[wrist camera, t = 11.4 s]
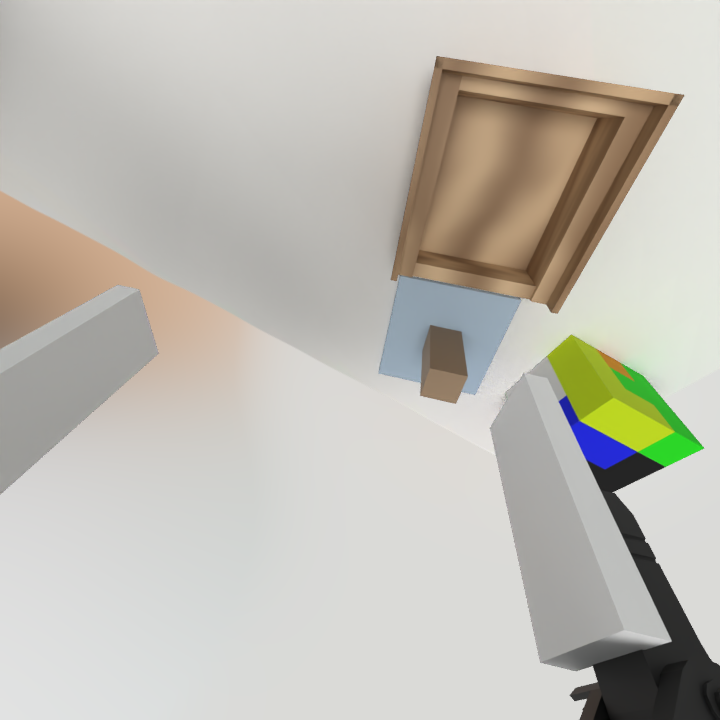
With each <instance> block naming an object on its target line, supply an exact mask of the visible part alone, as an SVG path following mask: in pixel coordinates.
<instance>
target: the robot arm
mask: <svg viewBox="0 0 720 720" xmlns="http://www.w3.org/2000/svg"><path fill="white" fill-rule="evenodd" d="M157 354H158V350H157V346H156V343H155V340H154V337H153V333H152V330H151V327H150V323H149V320H148V317H147V313H146V310H145V307H144V303H143V300H142V297H141V293H140V291H139V289H135V288H130V287H125V286H121V285H117V286H115V287H113V288H111V289H109V290H107V291H106V292H104V293H102V294H100V295H98V296H97V297H95V298H93V299H91V300H89V301H87V302H86V303H84V304H82V305H80V306H78V307H77V308H75V309H73V310H71V311H69V312H67V313H65V314H64V315H62V316H60V317H58V318H56V319H55V320H53V321H51V322H49V323H47V324H45V325H44V326H42V327H40V328H38V329H36V330H35V331H33V332H31V333H29V334H27V335H25V336H23V337H22V338H20V339H18V340H16V341H14V342H13V343H11V344H9V345H7V346H5V347H3V348H2V349H0V494H1V493H3V492H4V491H5V490H6V489H7V488H8V487H9V486H10V485H12V484H13V483H14V482H15V481H16V480H17V479H18V478H19V477H21V476H22V475H23V474H24V473H25V472H26V471H27V470H28V469H30V468H31V467H32V466H33V465H34V464H35V463H36V462H37V461H38V460H40V459H41V458H42V457H43V456H44V455H45V454H46V453H47V452H49V451H50V450H51V449H52V448H53V447H54V446H55V445H56V444H58V443H59V442H60V441H61V440H62V439H63V438H64V437H65V436H67V435H68V434H69V433H70V432H71V431H72V430H73V429H74V428H76V427H77V426H78V425H79V424H80V423H81V422H82V421H83V420H85V419H86V418H87V417H88V416H89V415H90V414H91V413H92V412H94V410H96V409H97V408H98V407H99V406H100V405H101V404H103V403H104V402H105V401H106V400H107V399H108V398H109V397H110V396H111V395H113V394H114V393H115V392H116V391H117V390H118V389H119V388H120V387H121V386H123V385H124V384H125V383H126V382H127V381H128V380H129V379H131V378H132V377H133V376H134V375H135V374H136V373H137V372H138V371H140V370H141V369H142V368H143V367H144V366H145V365H146V364H147V363H148V362H150V361H151V360H152V359H153V358H154V357H155V356H156V355H157ZM490 429H491V434H492V439H493V443H494V448H495V453H496V458H497V462H498V467H499V472H500V476H501V481H502V486H503V490H504V495H505V499H506V504H507V508H508V514H509V518H510V523H511V528H512V532H513V537H514V542H515V547H516V551H517V556H518V561H519V565H520V570H521V574H522V579H523V584H524V589H525V594H526V598H527V603H528V608H529V612H530V616H531V622H532V626H533V631H534V636H535V640H536V645H537V649H538V655H539V659H540V662H541V663H544V664H549V665H552V666H557V667H561V668H565V669H569V670H573V671H578V670H581V669H584V668H588V667H591V666H593V668H594V671H595V674H596V677H597V680H598V682H597V683H593V684H589V685H586V686H581V687H577V688H575V689H574V691H573V692H572V693H571V694H570V696H571V697H572V699H573V700H574V701H577V700H582V699H587V701H586V704H585V707H584V708H583V712H582V715H581V717H580V720H720V666H719V665H718V664H717V663H714V662H712V661H711V659H710V658H709V656H708V655H707V653H706V651H705V650H704V648H703V646H702V645H701V643H700V641H699V639H698V638H697V635H696V634H695V632H694V630H693V628H692V626H691V624H690V622H689V620H688V618H687V616H686V614H685V613H684V611H683V609H682V607H681V605H680V603H679V601H678V599H677V597H676V595H675V594H674V592H673V590H672V588H671V586H670V584H669V582H668V580H667V578H666V577H665V575H664V573H663V571H662V569H661V567H660V565H659V564H657V563H656V561H655V559H656V557H655V556H654V554H653V552H652V550H651V548H650V546H649V544H648V543H646V542H645V537H644V535H643V533H642V531H641V529H640V527H639V525H638V523H637V521H636V520H635V518H634V516H633V514H632V513H631V512H630V511H629V509H628V508H627V507H626V506H625V505H624V504H623V503H622V501H621V500H620V499H619V498H618V497H617V496H616V494H615V493H611V492H607V491H603V490H600V488H599V486H598V484H597V482H596V480H595V478H594V476H593V473H592V471H591V469H590V467H589V465H588V463H587V461H586V459H585V457H584V454H583V452H582V450H581V448H580V446H579V444H578V442H577V440H576V438H575V435H574V433H573V431H572V429H571V427H570V425H569V423H568V421H567V419H566V416H565V414H564V412H563V410H562V408H561V406H560V404H559V402H558V400H557V397H556V395H555V393H554V391H553V389H552V387H551V385H550V383H549V380H548V378H545V377H540V376H536V375H531V374H526V373H524V374H523V375H522V377H521V379H520V380H519V382H518V383H517V385H516V387H515V388H514V390H513V391H512V393H511V395H510V396H509V398H508V399H507V401H506V403H505V404H504V406H503V408H502V409H501V411H500V412H499V414H498V416H497V417H496V419H495V420H494V422H493V424H492V425H491V427H490Z"/></svg>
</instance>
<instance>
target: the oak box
mask: <svg viewBox="0 0 720 720" xmlns="http://www.w3.org/2000/svg"><path fill="white" fill-rule="evenodd" d="M683 97H684V95H681V94H674V93H668V92H662V91H655V90H649V89H642V88H636V87H630V86H623V85H617V84H611V83H604V82H598V81H592V80H585V79H579V78H573V77H566V76H560V75H554V74H547V73H541V72H534V71H528V70H522V69H515V68H509V67H503V66H496V65H490V64H484V63H477V62H471V61H465V60H458V59H452V58H446V57H439V56H437V57H436V62H435V67H434V72H433V77H432V81H431V86H430V91H429V96H428V101H427V106H426V111H425V116H424V120H423V125H422V130H421V135H420V140H419V145H418V150H417V154H416V159H415V164H414V169H413V174H412V179H411V184H410V189H409V193H408V198H407V203H406V208H405V213H404V218H403V223H402V228H401V232H400V237H399V242H398V247H397V252H396V257H395V262H394V266H393V271H392V276H391V280H394V281H397V277H398V275H403V276H408V277H413V276H416V277H421V278H426V279H431V280H436V281H441V282H446V283H451V284H456V285H461V286H466V287H471V288H476V289H481V290H486V291H491V292H496V293H501V294H506V295H511V296H516V297H521V298H526V299H530V300H531V301H532V302H537V303H542V304H546V305H547V306H548V308H549V309H550V311H551V312H552V313H557V314H558V312H559V310H560V309H561V307H562V305H563V303H564V302H565V300H566V298H567V296H568V295H569V293H570V291H571V290H572V288H573V286H574V284H575V283H576V281H577V279H578V278H579V276H580V274H581V272H582V271H583V269H584V267H585V265H586V264H587V262H588V260H589V259H590V257H591V255H592V253H593V252H594V250H595V248H596V247H597V245H598V243H599V241H600V240H601V238H602V236H603V234H604V233H605V231H606V229H607V228H608V226H609V224H610V222H611V221H612V219H613V217H614V216H615V214H616V212H617V210H618V209H619V207H620V205H621V203H622V202H623V200H624V198H625V197H626V195H627V193H628V191H629V190H630V188H631V186H632V185H633V183H634V181H635V179H636V178H637V176H638V174H639V172H640V171H641V169H642V167H643V166H644V164H645V162H646V160H647V159H648V157H649V155H650V154H651V152H652V150H653V148H654V147H655V145H656V143H657V141H658V140H659V138H660V136H661V135H662V133H663V131H664V129H665V128H666V126H667V124H668V123H669V121H670V119H671V117H672V116H673V114H674V112H675V110H676V109H677V107H678V105H679V104H680V102H681V100H682V98H683Z"/></svg>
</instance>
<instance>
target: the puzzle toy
mask: <svg viewBox="0 0 720 720" xmlns="http://www.w3.org/2000/svg"><path fill="white" fill-rule="evenodd" d="M527 374H531V375H536V376H540V377H545V378H548V380H549V383H550V385H551V387H552V389H553V391H554V393H555V395H556V397H557V400H558V402H559V404H560V406H561V408H562V410H563V412H564V414H565V416H566V419H567V421H568V423H569V425H570V427H571V429H572V431H573V433H574V435H575V438H576V440H577V442H578V444H579V446H580V448H581V450H582V452H583V454H584V457H585V459H586V461H587V463H588V465H589V467H590V469H591V471H592V473H593V476H594V478H595V480H596V482H597V484H598V486H599V488H600V490H603V491H607V492H611V493H612V492H614V491H616V490H618V489H621V488H623V487H625V486H627V485H629V484H631V483H633V482H635V481H637V480H639V479H641V478H643V477H646V476H648V475H650V474H652V473H654V472H656V471H658V470H660V469H662V468H664V467H666V466H668V465H671V464H673V463H674V462H677V461H679V460H681V459H683V458H685V457H687V456H689V455H691V454H693V453H695V452H698V451H700V450H701V449H704V447H703V446H702V445H701V444H700V443H699V441H698V440H697V439H696V438H695V437H694V435H693V434H692V433H691V432H690V431H689V429H688V428H687V427H686V426H685V425H684V424H683V422H682V421H681V420H680V419H679V418H678V417H677V415H676V414H675V413H674V412H673V411H672V409H671V408H670V407H669V406H668V405H667V403H665V401H664V400H663V399H662V398H661V396H660V395H659V394H658V393H657V392H656V390H655V389H654V388H653V387H652V386H651V385H650V383H649V382H648V381H647V380H646V379H645V377H644V376H642V375H640V374H639V373H637V372H635V371H634V370H632V369H630V368H628V367H627V366H625V365H623V364H621V363H620V362H618V361H616V360H614V359H613V358H611V357H609V356H608V355H606V354H604V353H602V352H601V351H599V350H597V349H595V348H594V347H592V346H590V345H588V344H587V343H585V342H583V341H582V340H580V339H578V338H576V337H575V336H573V335H570V336H569V337H568V338H567V339H566V340H565V341H564V342H562V343H561V344H560V345H559V346H558V347H557V348H556V349H554V350H553V351H552V352H551V353H550V354H549V355H548V356H546V357H545V358H544V359H543V360H542V361H541V362H540V363H539V364H537V365H536V366H535V367H534V368H533V369H532V370H531V371H529V372H528V373H527ZM518 382H519V381H518ZM518 382H517V383H518ZM517 383H516V384H515V385H514V386H512V387H511V388H510V389H509V390H508V391H507V392H506V393H505V394H506V397H507V399H508V398H509V396H510V395H511V393H512V391H513V390H514V388H515V387H516V385H517Z"/></svg>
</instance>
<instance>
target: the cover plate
mask: <svg viewBox="0 0 720 720" xmlns="http://www.w3.org/2000/svg"><path fill="white" fill-rule="evenodd" d="M520 302H521V299H520V298H519V297H514V296H509V295H504V294H499V293H494V292H489V291H484V290H479V289H474V288H469V287H464V286H459V285H454V284H449V283H444V282H439V281H434V280H429V279H424V278H419V277H414V276H413V277H408V276H403V275H400V279H399V284H398V288H397V292H396V297H395V301H394V306H393V310H392V315H391V319H390V324H389V328H388V333H387V337H386V342H385V346H384V351H383V355H382V360H381V364H380V369H379V374H384V375H388V376H393V377H397V378H402V379H406V380H411V381H415V382H420V383H421V392H420V396H424V397H428V398H433V399H437V400H442V401H446V402H450V403H455V404H456V402H457V400H458V398H459V395H460V393H461V392H465V393H469V394H474V395H475V394H476V392H477V390H478V388H479V386H480V384H481V382H482V380H483V378H484V376H485V374H486V372H487V370H488V367H489V365H490V363H491V361H492V359H493V357H494V355H495V353H496V351H497V349H498V347H499V345H500V343H501V341H502V339H503V337H504V335H505V333H506V331H507V329H508V327H509V325H510V323H511V320H512V318H513V316H514V314H515V312H516V310H517V308H518V306H519V304H520Z"/></svg>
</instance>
